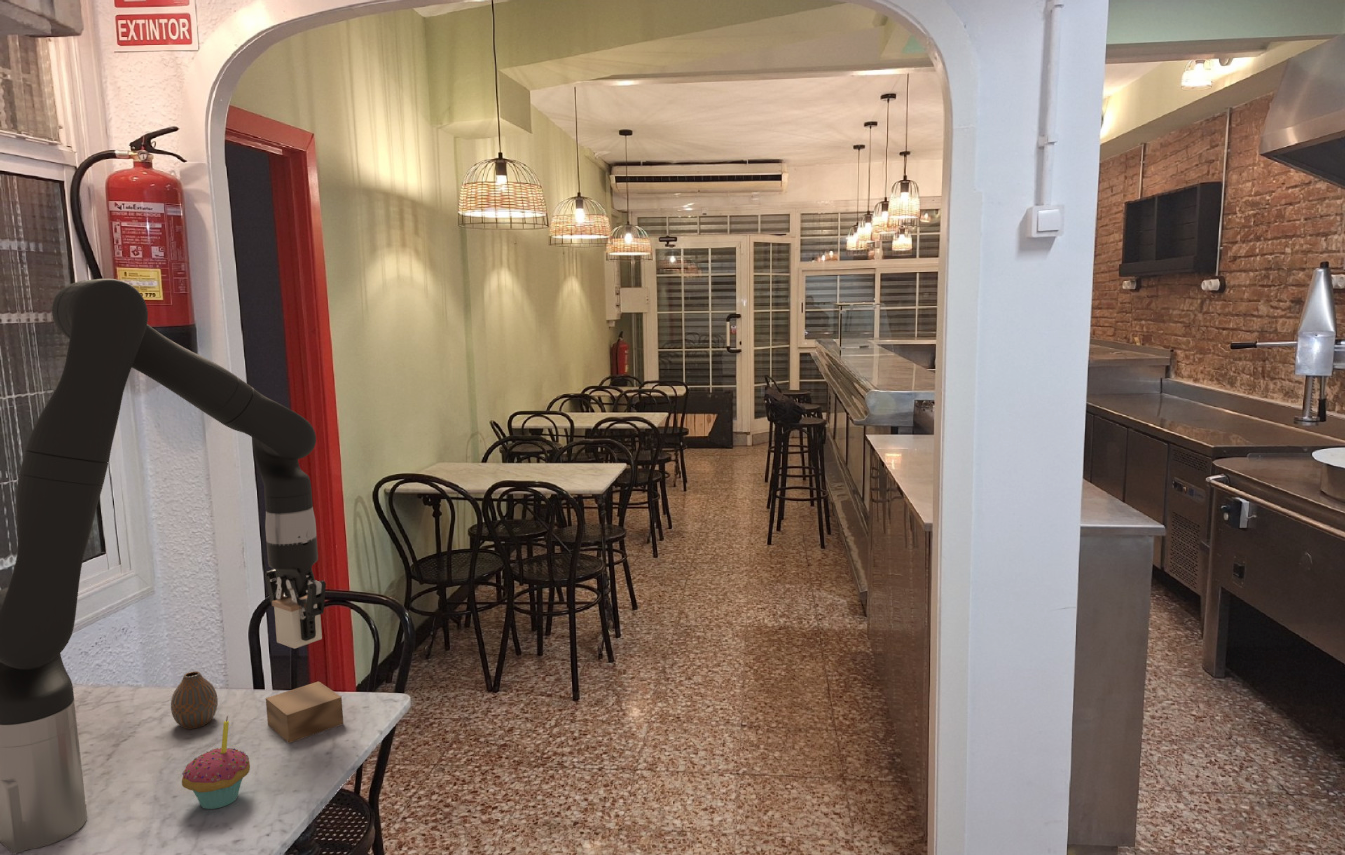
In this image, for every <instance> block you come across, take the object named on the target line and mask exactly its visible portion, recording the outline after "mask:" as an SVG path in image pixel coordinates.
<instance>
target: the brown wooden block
mask: <svg viewBox="0 0 1345 855" xmlns="http://www.w3.org/2000/svg"><path fill="white" fill-rule="evenodd" d="M265 707H266V718H267V719H266V720H267V725H268V726H269V727H270V728H271V729H272V730H273V731H274V732H276V733H277V734H278V735H279V736H280V737H281V738H283V739H284V741H286V742H287V743H288V744H291V743H293V742H297V741H299V740H302V739H304V738H308V737H310V736H313V735H316V734H319V733H321V732H324V731H326V730H330V729H333V728H335V727H338V726H341V725H344V716H343V699H342V696H341V695H339V694H338V693H336V692H335V691H334V690H332V689H331V688H329V687H328V686H326V685H325V684H323V683H322V682H321V681H319V680H318V681H316V682H312V683H310V684H306V685H302V686H299V687H296V688H293V689H291V690H287V691H284V692H281V693H278V694H274V695H271V696H268V697H266V698H265Z"/></svg>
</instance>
